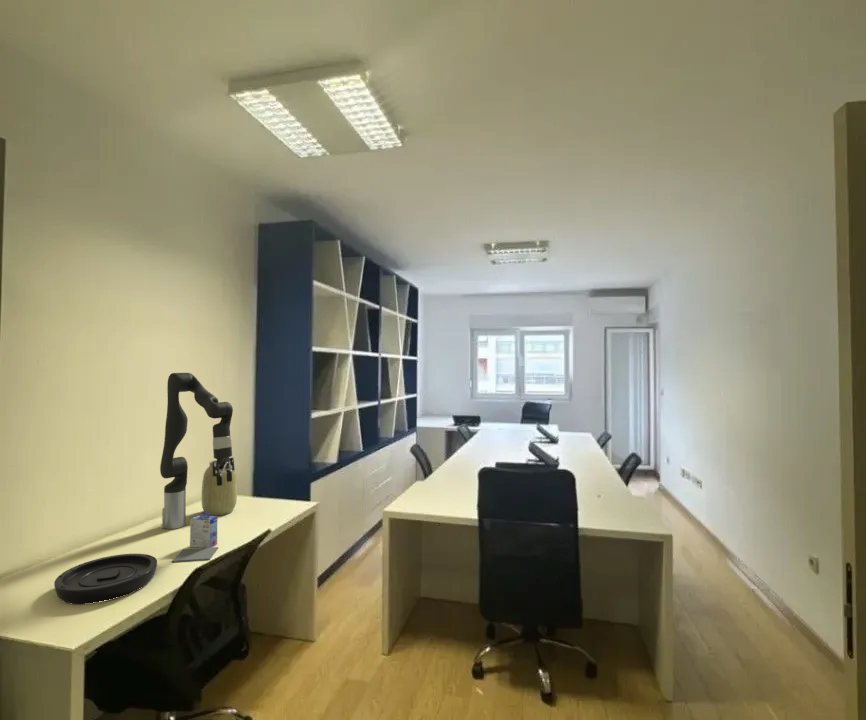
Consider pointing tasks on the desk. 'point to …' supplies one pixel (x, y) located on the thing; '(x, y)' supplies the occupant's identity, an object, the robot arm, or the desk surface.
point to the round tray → (105, 578)
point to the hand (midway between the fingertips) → (224, 483)
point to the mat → (195, 554)
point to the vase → (218, 493)
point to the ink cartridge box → (203, 531)
